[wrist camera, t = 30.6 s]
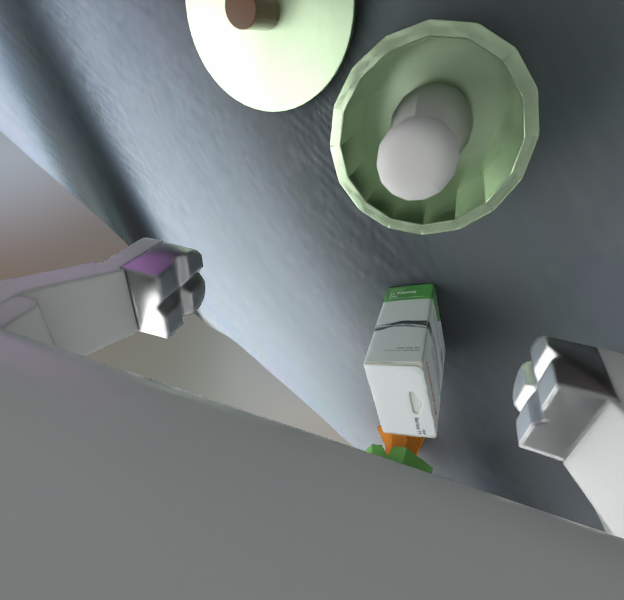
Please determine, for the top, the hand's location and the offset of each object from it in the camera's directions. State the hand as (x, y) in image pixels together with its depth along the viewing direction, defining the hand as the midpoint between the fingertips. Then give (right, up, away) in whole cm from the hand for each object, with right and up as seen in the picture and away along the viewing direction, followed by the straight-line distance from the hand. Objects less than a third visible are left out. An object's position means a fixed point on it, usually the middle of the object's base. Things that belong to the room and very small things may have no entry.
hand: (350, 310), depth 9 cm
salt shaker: (+9, +14, +21) cm, 27 cm away
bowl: (+9, +14, +21) cm, 27 cm away
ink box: (+10, -2, +32) cm, 33 cm away
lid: (-4, +22, +20) cm, 31 cm away
